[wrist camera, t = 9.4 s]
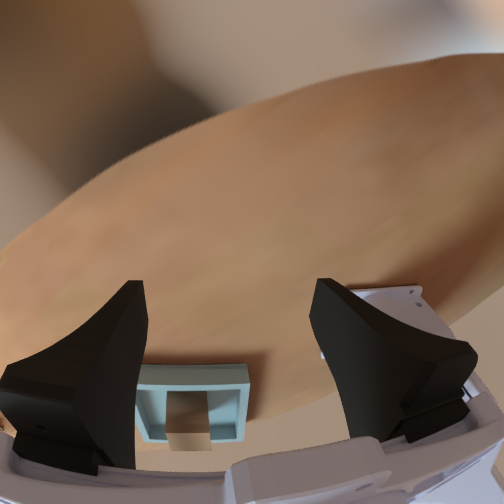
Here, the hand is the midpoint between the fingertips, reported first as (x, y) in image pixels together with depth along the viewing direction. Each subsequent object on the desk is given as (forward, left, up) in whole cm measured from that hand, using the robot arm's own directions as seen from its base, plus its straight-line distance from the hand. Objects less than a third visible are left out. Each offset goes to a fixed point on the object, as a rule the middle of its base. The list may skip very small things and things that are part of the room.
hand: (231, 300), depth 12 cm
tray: (+3, +20, -9) cm, 22 cm away
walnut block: (+3, +20, -9) cm, 22 cm away
